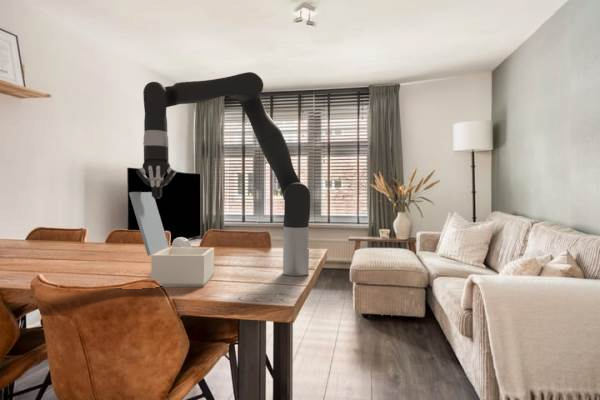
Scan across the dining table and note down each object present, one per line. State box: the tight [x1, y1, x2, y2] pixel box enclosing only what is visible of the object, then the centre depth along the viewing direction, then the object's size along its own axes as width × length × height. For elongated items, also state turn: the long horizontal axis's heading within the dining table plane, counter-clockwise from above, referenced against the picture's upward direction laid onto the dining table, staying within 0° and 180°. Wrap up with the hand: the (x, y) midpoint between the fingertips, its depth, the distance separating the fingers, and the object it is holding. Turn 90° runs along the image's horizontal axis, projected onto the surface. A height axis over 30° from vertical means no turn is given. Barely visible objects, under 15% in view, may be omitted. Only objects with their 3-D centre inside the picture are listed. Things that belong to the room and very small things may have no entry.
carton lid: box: [128, 191, 170, 256], centre depth 117 cm, size 20×17×1 cm
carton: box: [150, 247, 215, 288], centre depth 118 cm, size 16×16×10 cm
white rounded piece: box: [171, 236, 192, 248], centre depth 134 cm, size 10×4×12 cm, turn 39°
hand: (156, 198), depth 117 cm, fingers closed
